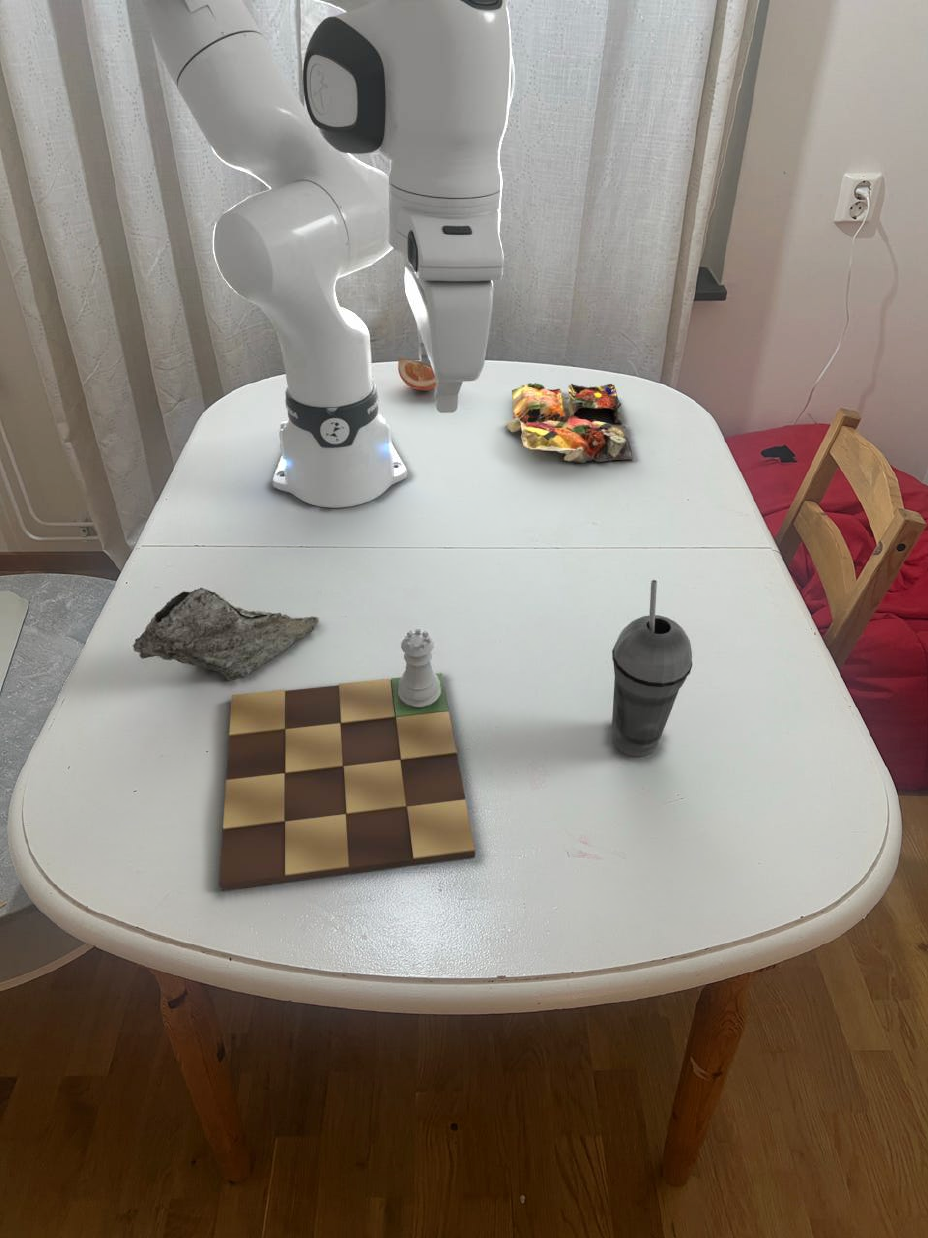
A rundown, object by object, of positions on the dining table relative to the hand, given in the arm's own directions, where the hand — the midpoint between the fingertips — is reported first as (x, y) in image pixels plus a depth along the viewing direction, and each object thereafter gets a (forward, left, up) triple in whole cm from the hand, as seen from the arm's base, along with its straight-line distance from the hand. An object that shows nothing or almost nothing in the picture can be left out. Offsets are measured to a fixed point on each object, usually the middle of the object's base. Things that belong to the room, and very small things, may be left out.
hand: (436, 384), depth 77 cm
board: (+19, -12, -30) cm, 38 cm away
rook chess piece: (+11, -4, -29) cm, 31 cm away
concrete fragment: (+1, -23, -31) cm, 38 cm away
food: (-43, +25, -31) cm, 59 cm away
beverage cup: (+19, +17, -31) cm, 40 cm away
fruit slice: (-59, +5, -31) cm, 67 cm away
